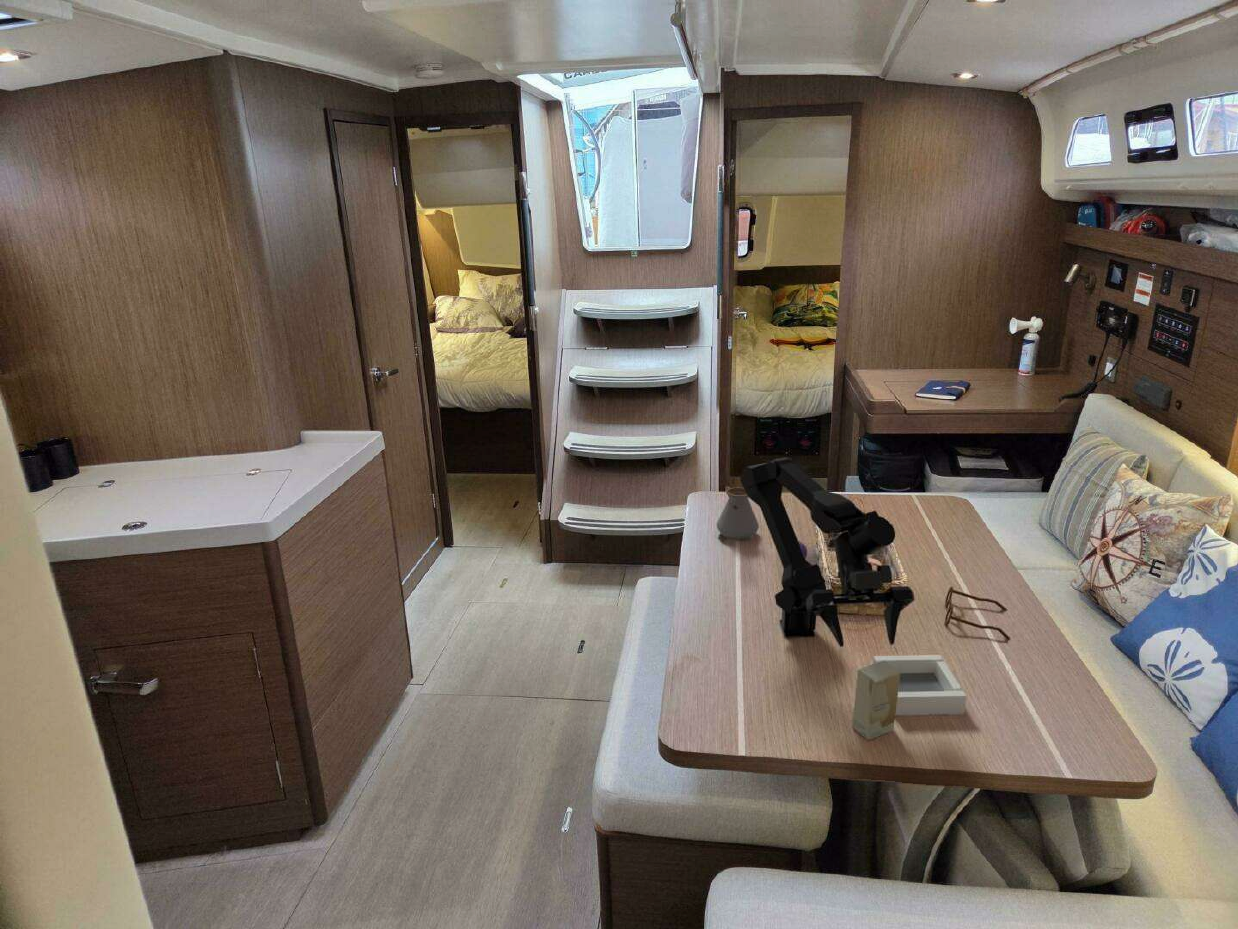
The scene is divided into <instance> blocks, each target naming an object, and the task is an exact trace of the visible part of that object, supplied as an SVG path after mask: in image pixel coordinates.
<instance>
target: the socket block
mask: <svg viewBox="0 0 1238 929" xmlns="http://www.w3.org/2000/svg"><path fill="white" fill-rule="evenodd" d="M881 661H885V662H887V663H888V664H890V665H891V666H892V667H894V668H895V669H897V670H898V671H900V672H901V673H900V681H899V689H898V697H897V705H896V713H895V716H936V715H937V714H939V716H941V715H940V714H949V715H964V714H965V709H966V702H967V694H966V693H965V692H964V690H962V686H961V685H960V684H959V682H958V680H957V679H956V677H955V676H954V675H953V673H952V671H951V669H950V668H949V667H948V665H947V663H946V662H945V661H944V659H943V657H942V656H941V655H940V654H935V655H934V654H923V655H918V654H917V655H915V654H914V655H874V656H873V659H872V664H875V663H878V662H881ZM929 714H931V715H929ZM935 714H936V715H935ZM937 716H938V715H937Z"/></svg>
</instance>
